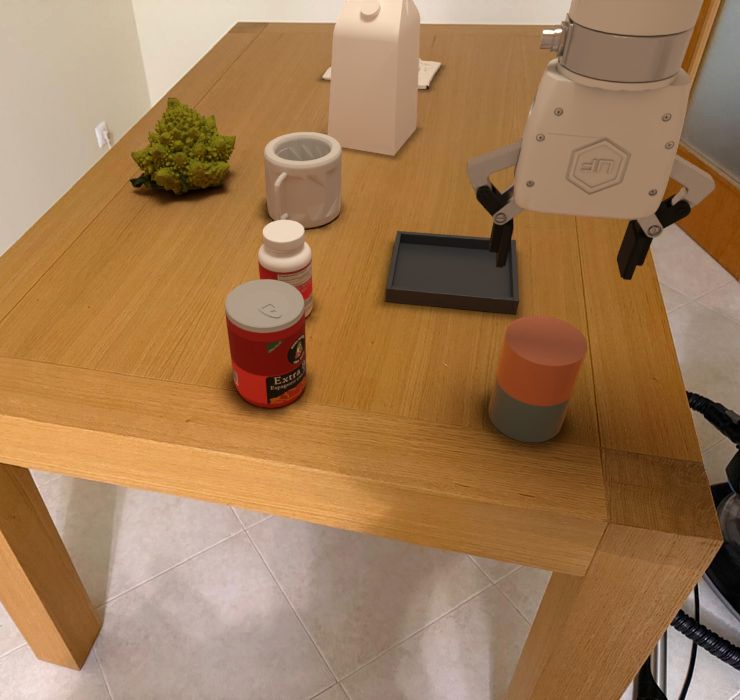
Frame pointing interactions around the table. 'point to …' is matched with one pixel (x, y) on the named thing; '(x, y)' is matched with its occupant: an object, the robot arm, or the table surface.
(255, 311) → the canned food
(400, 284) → the tray
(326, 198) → the mug
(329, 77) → the terrain model
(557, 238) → the table surface
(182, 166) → the vegetable
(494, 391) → the grey-blue short cylinder
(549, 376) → the orange cylinder
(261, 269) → the pill bottle
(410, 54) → the milk
